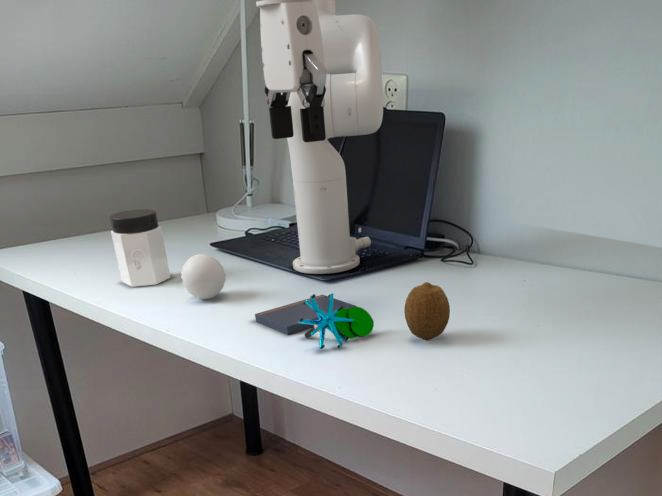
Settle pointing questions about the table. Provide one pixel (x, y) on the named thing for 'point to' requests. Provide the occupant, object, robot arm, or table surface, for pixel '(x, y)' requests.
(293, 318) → the notebook
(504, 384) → the table surface
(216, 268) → the white sphere
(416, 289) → the fruit
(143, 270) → the jar
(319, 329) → the stick construction toy
